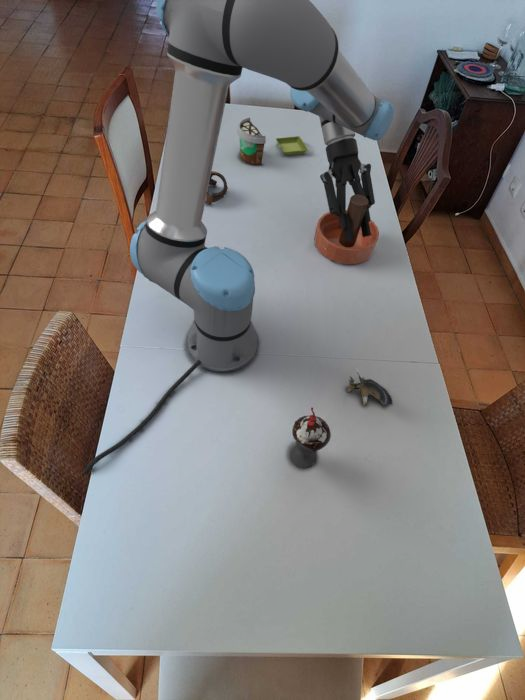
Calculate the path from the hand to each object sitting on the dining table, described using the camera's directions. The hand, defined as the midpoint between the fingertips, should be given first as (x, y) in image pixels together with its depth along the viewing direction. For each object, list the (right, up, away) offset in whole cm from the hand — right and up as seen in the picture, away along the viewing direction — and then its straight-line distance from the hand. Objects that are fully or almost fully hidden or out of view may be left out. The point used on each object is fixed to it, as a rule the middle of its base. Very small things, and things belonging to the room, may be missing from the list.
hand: (358, 238), depth 115 cm
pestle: (-2, 0, +5) cm, 6 cm away
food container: (-29, +33, +31) cm, 54 cm away
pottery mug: (-41, +17, +18) cm, 47 cm away
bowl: (-2, 0, +9) cm, 9 cm away
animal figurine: (-2, -38, -19) cm, 43 cm away
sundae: (-17, -49, -28) cm, 59 cm away
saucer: (-15, +38, +36) cm, 54 cm away
